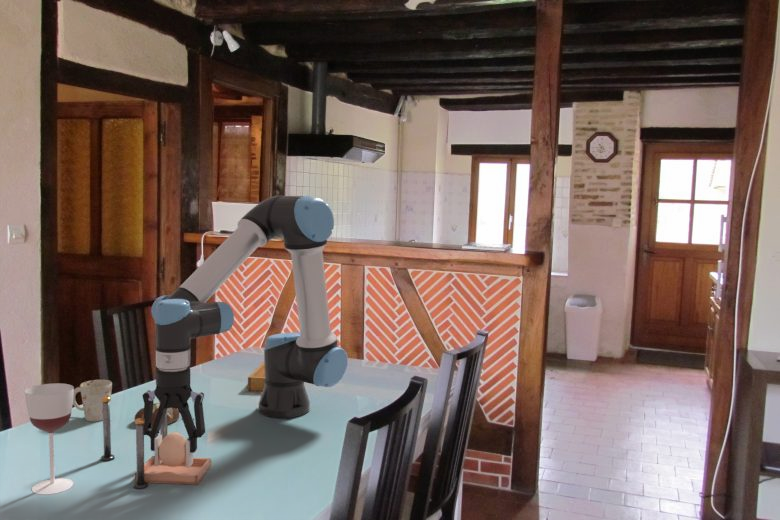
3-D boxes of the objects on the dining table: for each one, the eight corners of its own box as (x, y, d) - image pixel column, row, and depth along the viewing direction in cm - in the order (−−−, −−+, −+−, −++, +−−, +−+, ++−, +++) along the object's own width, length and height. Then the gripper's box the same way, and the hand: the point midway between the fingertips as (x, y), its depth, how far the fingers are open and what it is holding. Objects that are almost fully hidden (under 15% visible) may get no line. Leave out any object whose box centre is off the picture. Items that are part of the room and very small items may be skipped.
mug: (101, 424, 193) (100, 389, 192) (60, 420, 195) (59, 385, 194) (118, 414, 201) (118, 380, 200) (79, 410, 203) (79, 377, 202)
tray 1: (211, 466, 166) (211, 458, 166) (197, 484, 156) (197, 476, 156) (152, 463, 167) (152, 455, 167) (135, 482, 157) (134, 473, 157)
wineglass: (38, 478, 158) (35, 383, 155) (82, 477, 159) (79, 383, 156) (21, 495, 149) (17, 395, 147) (67, 494, 150) (64, 395, 147)
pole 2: (150, 483, 156) (149, 417, 155) (144, 489, 153) (143, 422, 152) (136, 482, 156) (135, 416, 155) (131, 488, 153) (130, 421, 152)
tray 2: (293, 395, 225) (294, 378, 224) (247, 393, 226) (247, 375, 225) (312, 369, 255) (312, 354, 254) (271, 368, 256) (271, 352, 256)
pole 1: (116, 456, 171) (114, 395, 169) (110, 461, 168) (109, 399, 166) (104, 456, 171) (102, 395, 169) (98, 460, 168) (96, 399, 166)
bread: (185, 419, 199) (185, 402, 199) (156, 431, 189) (156, 413, 188) (156, 412, 204) (156, 396, 203) (126, 424, 194) (125, 407, 193)
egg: (191, 468, 160) (191, 435, 159) (161, 473, 157) (161, 439, 156) (185, 458, 166) (185, 426, 165) (156, 463, 163) (156, 430, 162)
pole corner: (172, 459, 170) (171, 398, 168) (168, 463, 167) (167, 402, 166) (160, 458, 170) (159, 397, 169) (155, 463, 167) (154, 401, 166)
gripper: (124, 370, 156) (125, 469, 158) (210, 373, 155) (210, 473, 157) (137, 361, 163) (139, 456, 166) (220, 364, 162) (220, 460, 165)
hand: (174, 464), depth 161 cm, fingers closed on egg, 7 cm apart
